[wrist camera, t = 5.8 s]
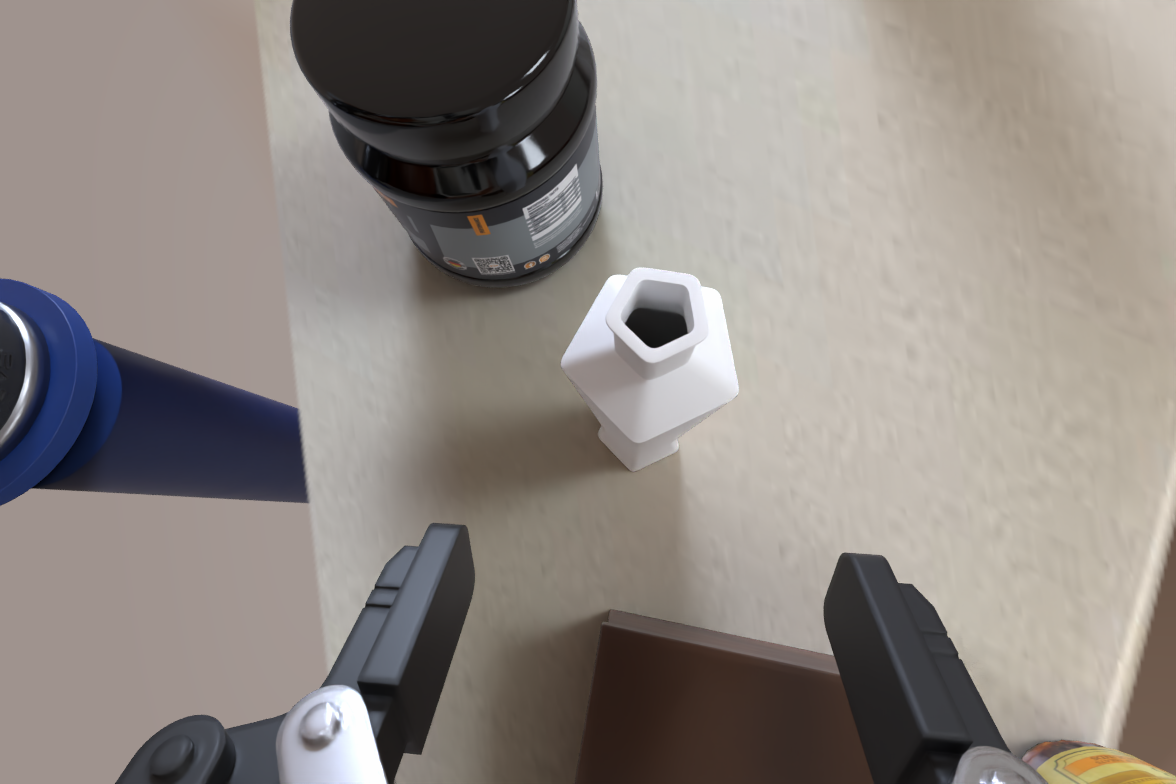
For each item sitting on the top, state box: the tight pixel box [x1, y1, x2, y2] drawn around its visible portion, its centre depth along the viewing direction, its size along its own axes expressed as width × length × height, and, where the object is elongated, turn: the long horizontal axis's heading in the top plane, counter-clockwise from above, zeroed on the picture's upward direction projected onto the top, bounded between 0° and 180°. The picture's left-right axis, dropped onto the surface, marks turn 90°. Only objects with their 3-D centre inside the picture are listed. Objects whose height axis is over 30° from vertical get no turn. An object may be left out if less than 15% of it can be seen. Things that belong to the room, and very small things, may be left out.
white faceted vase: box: [561, 268, 739, 472], centre depth 19 cm, size 5×4×15 cm
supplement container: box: [290, 0, 603, 288], centre depth 23 cm, size 10×10×12 cm
